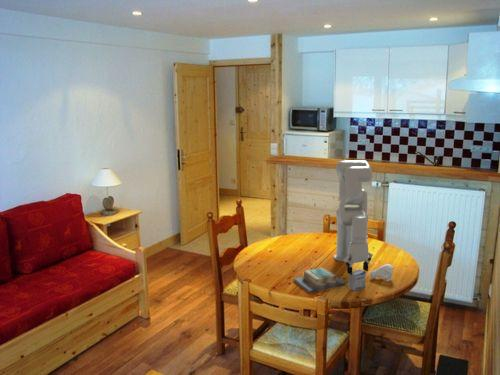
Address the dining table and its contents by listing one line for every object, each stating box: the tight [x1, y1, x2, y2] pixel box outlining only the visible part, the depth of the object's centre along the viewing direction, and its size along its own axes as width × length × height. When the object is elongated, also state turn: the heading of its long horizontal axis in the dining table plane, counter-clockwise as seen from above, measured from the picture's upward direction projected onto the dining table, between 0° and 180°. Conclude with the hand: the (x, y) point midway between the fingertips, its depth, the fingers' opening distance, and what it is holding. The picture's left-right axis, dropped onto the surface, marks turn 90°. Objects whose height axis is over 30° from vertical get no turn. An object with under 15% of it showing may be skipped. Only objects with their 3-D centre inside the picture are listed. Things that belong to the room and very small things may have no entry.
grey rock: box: [369, 263, 394, 283], centre depth 244 cm, size 6×8×12 cm
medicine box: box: [348, 268, 367, 292], centre depth 234 cm, size 8×4×9 cm, turn 126°
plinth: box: [293, 267, 347, 294], centre depth 240 cm, size 22×16×6 cm
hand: (357, 272), depth 232 cm, fingers open, 9 cm apart
